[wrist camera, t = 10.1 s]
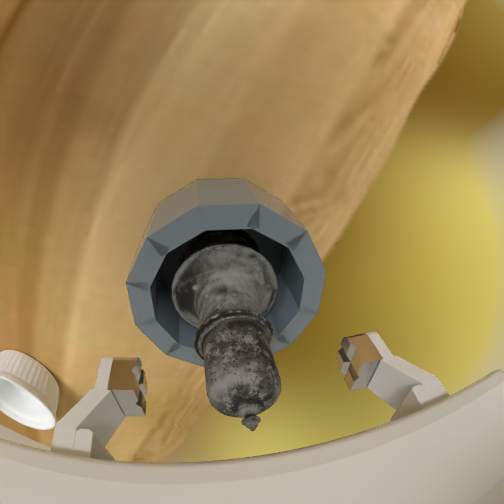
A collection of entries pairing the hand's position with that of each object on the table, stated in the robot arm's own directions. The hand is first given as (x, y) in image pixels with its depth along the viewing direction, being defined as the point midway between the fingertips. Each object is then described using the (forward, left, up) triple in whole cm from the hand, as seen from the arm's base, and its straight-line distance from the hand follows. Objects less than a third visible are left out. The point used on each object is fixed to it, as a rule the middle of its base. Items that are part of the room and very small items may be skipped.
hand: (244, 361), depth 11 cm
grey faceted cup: (+1, 0, -10) cm, 10 cm away
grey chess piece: (+1, 0, -9) cm, 9 cm away
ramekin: (+14, -21, -10) cm, 27 cm away
